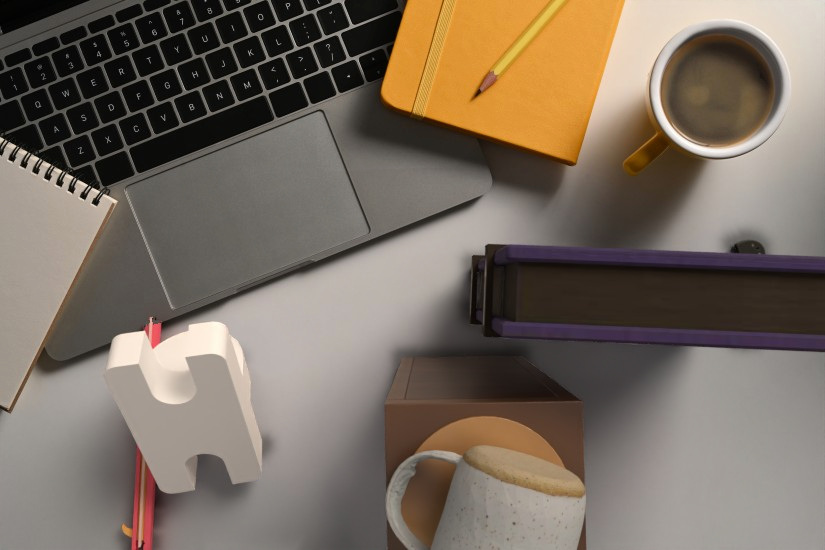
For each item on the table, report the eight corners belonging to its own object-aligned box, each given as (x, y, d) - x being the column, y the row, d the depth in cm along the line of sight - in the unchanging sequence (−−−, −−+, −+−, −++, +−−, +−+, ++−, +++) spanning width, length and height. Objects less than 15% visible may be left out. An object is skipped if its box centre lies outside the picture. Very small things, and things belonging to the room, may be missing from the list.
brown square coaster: (582, 590, 43) (589, 604, 41) (389, 592, 43) (387, 605, 41) (577, 396, 43) (584, 401, 41) (385, 399, 44) (383, 404, 42)
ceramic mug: (578, 461, 41) (610, 499, 34) (545, 595, 41) (569, 664, 33) (406, 415, 42) (398, 443, 34) (373, 548, 42) (357, 606, 34)
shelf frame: (524, 476, 69) (582, 590, 43) (404, 477, 69) (389, 592, 43) (521, 355, 69) (577, 396, 43) (402, 357, 70) (385, 399, 44)
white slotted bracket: (263, 479, 67) (264, 393, 75) (223, 351, 55) (229, 266, 63) (162, 495, 66) (174, 406, 74) (99, 369, 54) (121, 280, 63)
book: (705, 267, 69) (918, 252, 39) (703, 331, 69) (915, 364, 39) (468, 258, 70) (498, 235, 40) (466, 320, 69) (494, 346, 39)
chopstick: (168, 562, 68) (118, 563, 67) (171, 553, 70) (122, 555, 69) (180, 318, 69) (130, 316, 68) (183, 317, 71) (134, 315, 70)
